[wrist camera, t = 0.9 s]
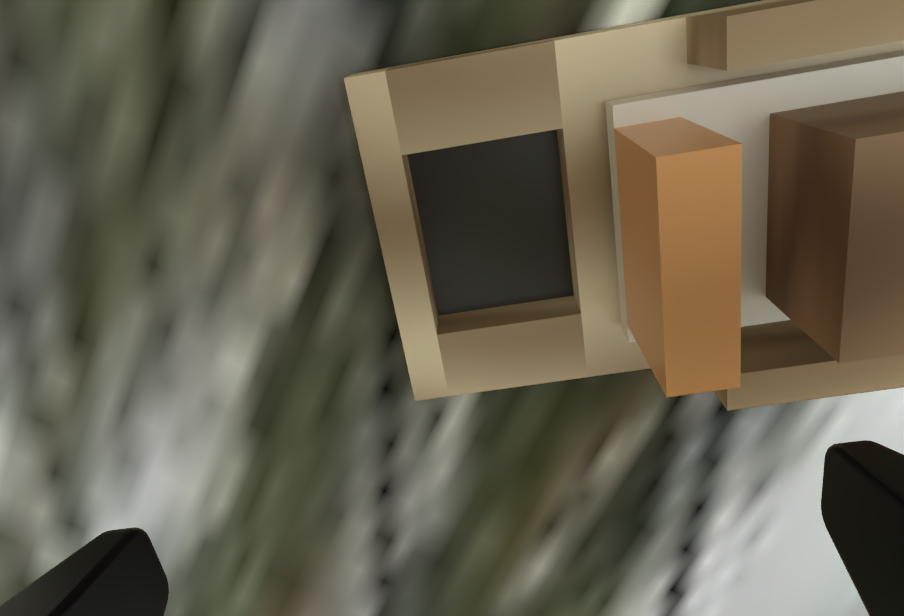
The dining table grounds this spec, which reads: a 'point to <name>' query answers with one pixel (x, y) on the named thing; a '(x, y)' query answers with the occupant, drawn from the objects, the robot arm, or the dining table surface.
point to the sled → (708, 210)
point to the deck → (568, 195)
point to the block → (839, 224)
